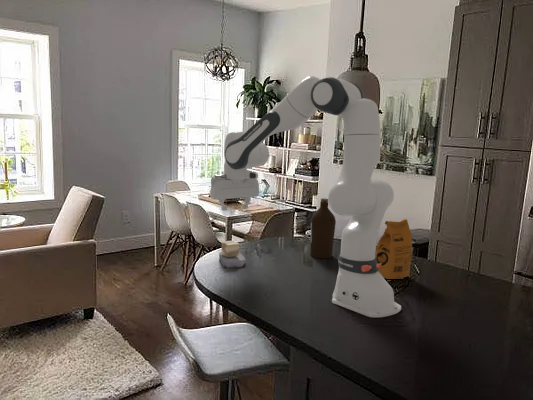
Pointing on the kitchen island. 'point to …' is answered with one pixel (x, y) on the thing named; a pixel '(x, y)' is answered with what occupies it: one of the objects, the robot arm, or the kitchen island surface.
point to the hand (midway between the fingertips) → (234, 209)
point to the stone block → (232, 260)
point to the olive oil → (322, 231)
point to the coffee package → (395, 250)
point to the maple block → (230, 248)
